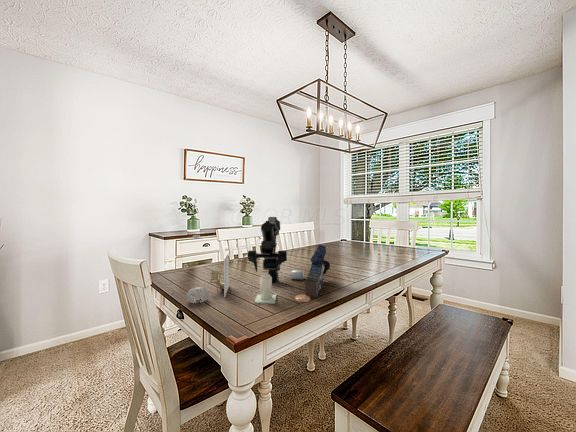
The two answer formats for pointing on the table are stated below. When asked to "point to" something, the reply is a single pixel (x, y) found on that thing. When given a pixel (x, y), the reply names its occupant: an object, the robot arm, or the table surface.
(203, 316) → the table surface
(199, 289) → the pendant light
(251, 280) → the table surface
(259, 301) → the pad
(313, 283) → the toy
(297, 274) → the white rounded cylinder
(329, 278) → the table surface
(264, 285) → the stoneware bottle
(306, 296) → the tan disc
